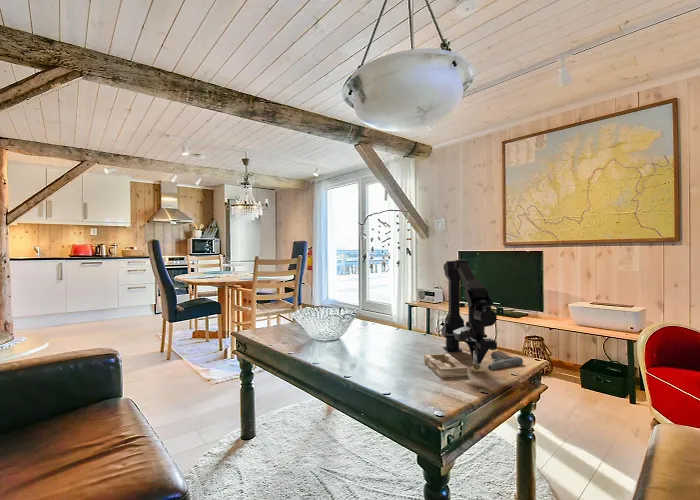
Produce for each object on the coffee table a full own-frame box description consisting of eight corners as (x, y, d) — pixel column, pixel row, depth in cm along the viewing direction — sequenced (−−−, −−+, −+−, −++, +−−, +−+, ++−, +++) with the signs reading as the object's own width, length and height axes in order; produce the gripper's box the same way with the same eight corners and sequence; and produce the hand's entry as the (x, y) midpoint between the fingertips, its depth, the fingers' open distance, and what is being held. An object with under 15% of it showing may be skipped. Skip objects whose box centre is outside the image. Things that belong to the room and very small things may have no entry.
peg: (468, 368, 136) (468, 349, 135) (479, 368, 136) (479, 348, 136) (473, 372, 131) (473, 352, 131) (485, 372, 132) (485, 351, 132)
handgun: (470, 355, 145) (491, 364, 133) (500, 349, 150) (524, 358, 139) (470, 363, 145) (491, 372, 134) (500, 357, 150) (524, 366, 139)
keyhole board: (424, 362, 143) (424, 354, 143) (448, 360, 145) (448, 353, 145) (440, 377, 127) (440, 369, 126) (467, 376, 128) (467, 367, 128)
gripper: (445, 315, 141) (445, 355, 142) (467, 326, 123) (467, 371, 123) (472, 314, 143) (472, 353, 143) (497, 325, 125) (497, 370, 125)
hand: (476, 361), depth 134 cm, fingers open, 4 cm apart
